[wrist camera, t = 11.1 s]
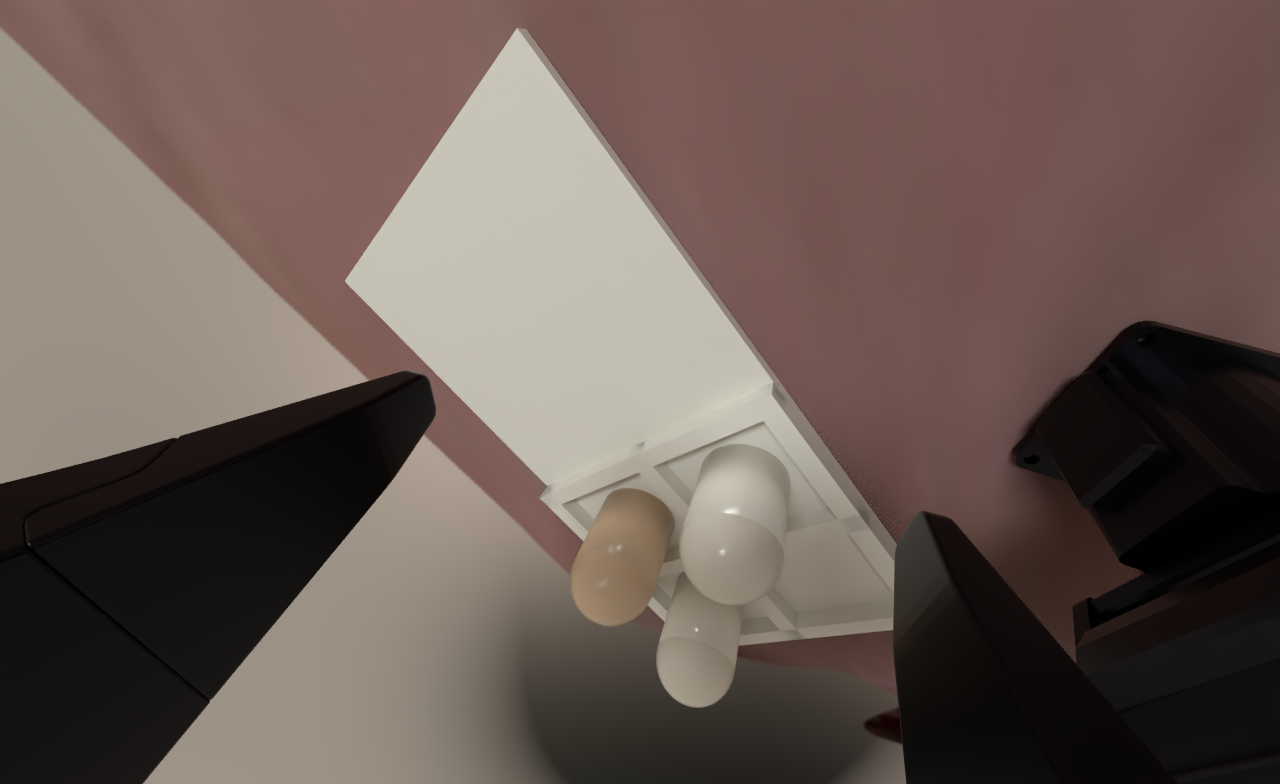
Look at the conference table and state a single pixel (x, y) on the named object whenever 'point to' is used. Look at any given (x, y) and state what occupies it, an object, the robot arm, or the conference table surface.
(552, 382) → the egg carton
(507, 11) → the conference table surface
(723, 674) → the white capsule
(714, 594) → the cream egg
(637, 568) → the brown egg
